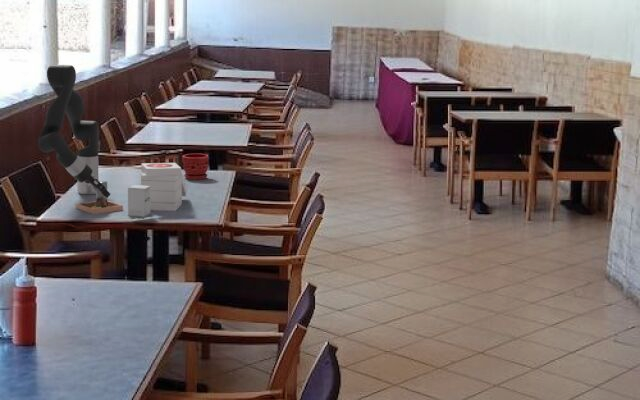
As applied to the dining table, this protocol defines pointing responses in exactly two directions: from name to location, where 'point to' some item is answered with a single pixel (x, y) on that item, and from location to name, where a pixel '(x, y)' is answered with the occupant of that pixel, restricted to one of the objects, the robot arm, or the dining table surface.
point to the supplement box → (139, 200)
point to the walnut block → (88, 204)
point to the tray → (110, 208)
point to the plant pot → (195, 166)
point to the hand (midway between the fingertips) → (105, 194)
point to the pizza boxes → (164, 185)
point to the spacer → (101, 196)
